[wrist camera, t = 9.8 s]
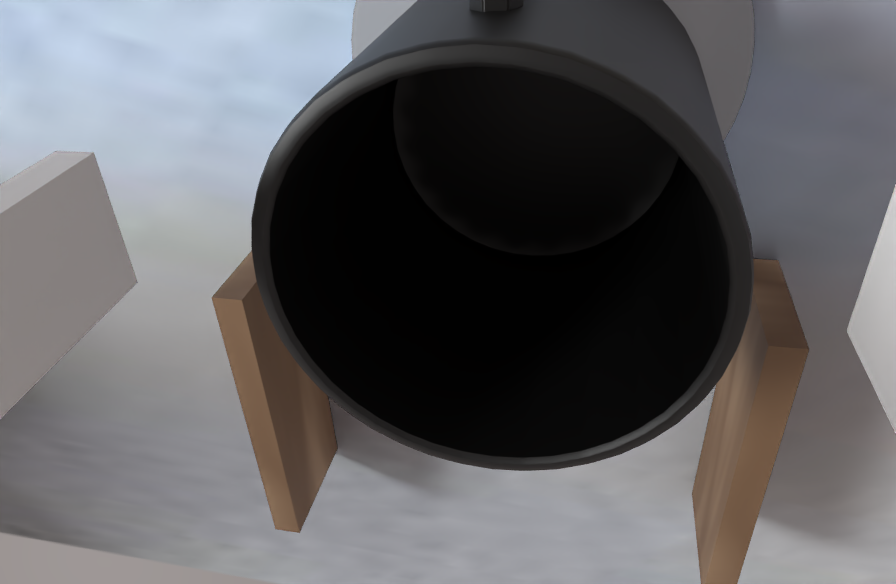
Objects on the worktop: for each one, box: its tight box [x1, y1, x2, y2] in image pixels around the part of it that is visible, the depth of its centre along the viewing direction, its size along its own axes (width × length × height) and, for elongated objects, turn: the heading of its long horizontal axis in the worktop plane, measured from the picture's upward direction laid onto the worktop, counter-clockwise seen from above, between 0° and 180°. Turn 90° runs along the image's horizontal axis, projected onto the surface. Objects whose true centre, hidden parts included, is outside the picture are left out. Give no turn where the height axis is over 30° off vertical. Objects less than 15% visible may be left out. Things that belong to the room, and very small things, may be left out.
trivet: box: [351, 0, 754, 141], centre depth 20 cm, size 11×11×1 cm
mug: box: [252, 0, 754, 471], centre depth 16 cm, size 9×12×9 cm
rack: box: [212, 251, 809, 584], centre depth 25 cm, size 17×11×4 cm, turn 92°
